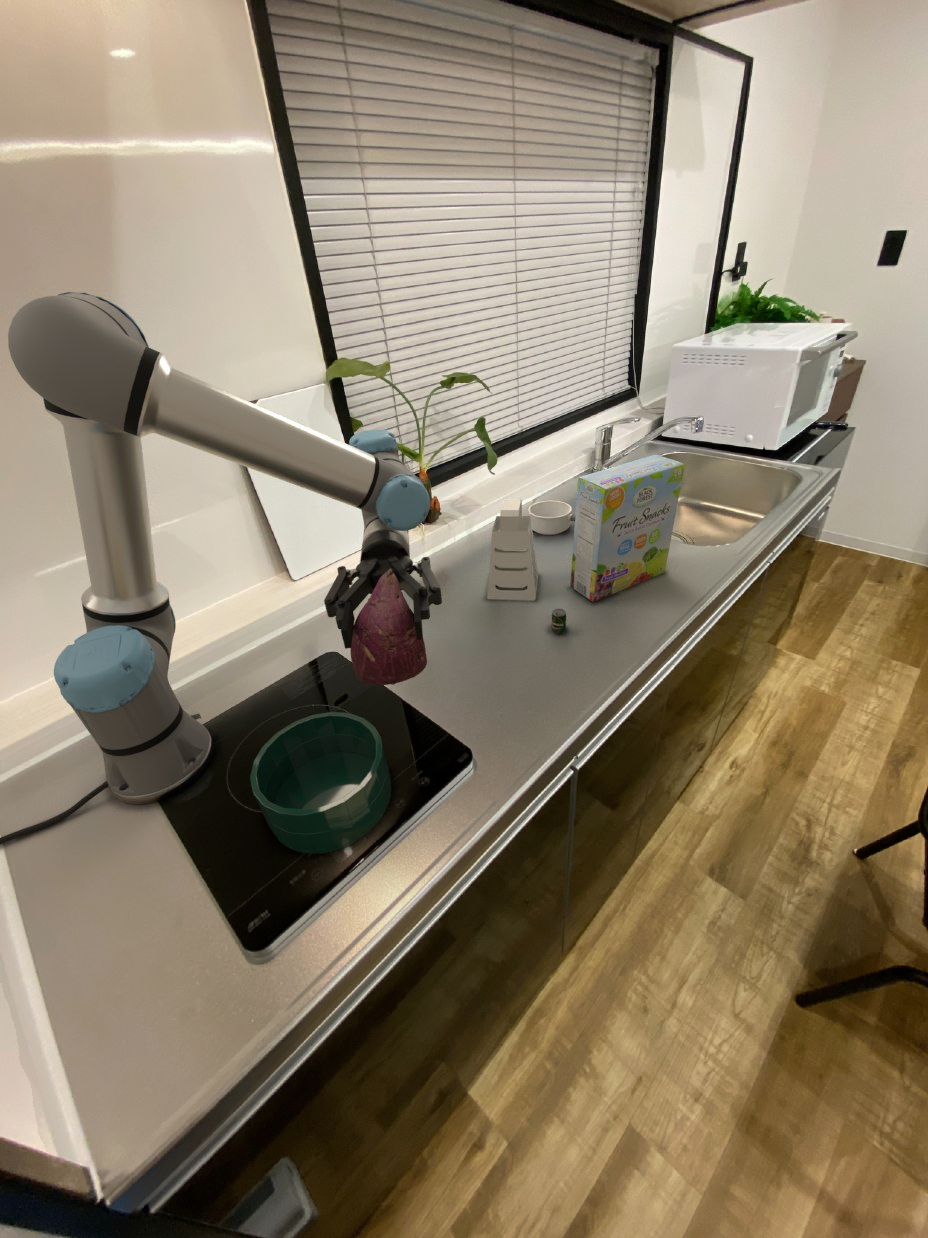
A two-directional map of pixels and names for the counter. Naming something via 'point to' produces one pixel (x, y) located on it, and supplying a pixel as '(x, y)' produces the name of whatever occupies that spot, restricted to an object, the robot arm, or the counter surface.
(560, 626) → the beer can
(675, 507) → the snack box
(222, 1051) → the counter surface
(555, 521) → the saucepan
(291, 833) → the pot
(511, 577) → the grater
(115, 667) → the robot arm
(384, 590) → the vegetable
